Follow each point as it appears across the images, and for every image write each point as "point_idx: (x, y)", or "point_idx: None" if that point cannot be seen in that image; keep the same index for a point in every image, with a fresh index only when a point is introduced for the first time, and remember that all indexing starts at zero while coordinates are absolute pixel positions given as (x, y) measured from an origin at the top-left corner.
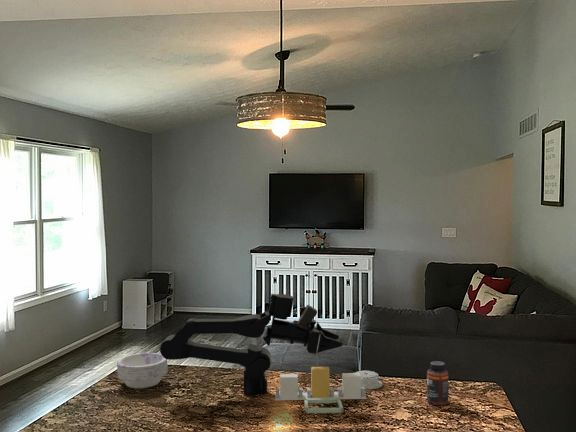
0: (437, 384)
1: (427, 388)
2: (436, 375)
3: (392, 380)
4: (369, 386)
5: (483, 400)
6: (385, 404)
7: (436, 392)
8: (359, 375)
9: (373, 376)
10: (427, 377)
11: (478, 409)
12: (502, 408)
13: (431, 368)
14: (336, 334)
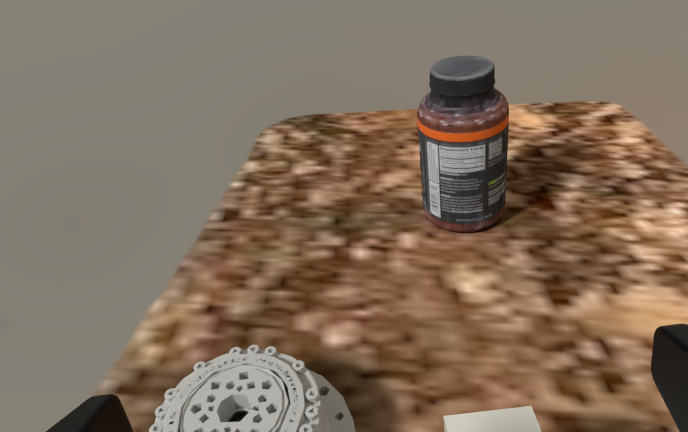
0: (507, 139)
1: (472, 186)
2: (507, 107)
3: (179, 330)
4: (330, 427)
5: None
6: (546, 374)
7: (505, 171)
8: (511, 415)
9: (293, 369)
10: (474, 144)
11: None
12: None
13: (474, 97)
14: (64, 420)
